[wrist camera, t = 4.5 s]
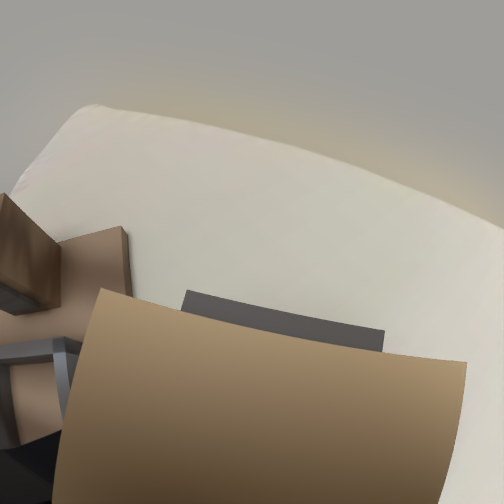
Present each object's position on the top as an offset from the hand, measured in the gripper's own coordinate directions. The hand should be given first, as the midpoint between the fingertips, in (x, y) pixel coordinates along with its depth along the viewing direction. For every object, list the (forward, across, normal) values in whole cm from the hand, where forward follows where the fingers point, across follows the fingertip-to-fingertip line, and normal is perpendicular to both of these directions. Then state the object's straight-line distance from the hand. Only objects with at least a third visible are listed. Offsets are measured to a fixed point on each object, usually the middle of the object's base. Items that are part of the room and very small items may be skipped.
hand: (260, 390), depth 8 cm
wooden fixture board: (+6, +15, +11) cm, 20 cm away
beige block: (+4, 0, +6) cm, 7 cm away
